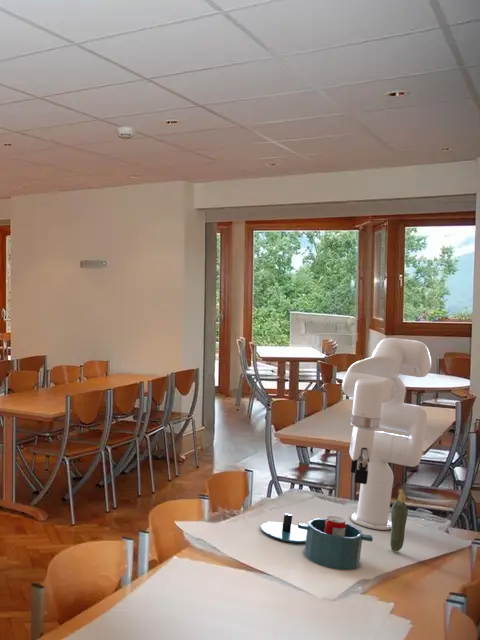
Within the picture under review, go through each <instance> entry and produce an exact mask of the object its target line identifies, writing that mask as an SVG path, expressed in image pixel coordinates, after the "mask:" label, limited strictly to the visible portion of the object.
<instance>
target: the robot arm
mask: <svg viewBox="0 0 480 640" xmlns="http://www.w3.org/2000/svg"><path fill="white" fill-rule="evenodd" d="M431 368H432V357H431V355H430V351H429V348H428V346H427V345H426V344H425V343H424V342H422V341H419V340H413V339H405V338H404V339H403V338H397V337H387V338H383V339H382V340H380V341H379V343H378V344H377V345H376V348H375V349H374V350H373V352H372V355H371V357H367V358H364V359H361V360H357V361H356V362H354V363H352V364H351V365H350V366H349V367H348V368H347V371H346V373H345V375H344V377H343V380H342V386H341V389H342V392H343V394H344V395H346V396H347V397H349V398H353V402H352V409H351V420H350V426H352V431H351V438H350V444H349V451H348V454H349V456H350V459H351V465H350V473H352V474H354V479H353V481H354V483H356V484H360V488H359V495H358V503H357V509H356V513H355V512H354V513H352V514H351V517H350V520H351V521H352V522H353V523H355V524H357V525H359V526H361V527H365V528H368V529H371V530H372V529H373V530H378V531H379V530H380V531H387V530H391V529H392V522H391V520H390V519H389V518H390V517H389V515H390V510H391V500H392V494H393V486H394V478H395V477H394V472H393V470H392V468H391V467H390V465H389V464H395V465H400V466H405V467H413V468H414V467H417V466H419V464H420V463H421V460H422V456H423V452H424V451H423V450H424V444H425V438H426V437H425V436H426V431H427V425H428V424H427V423H428V414H427V410H426V409H425V408H424V407H422V406H421V405H418V404H411V403H406V402H405V399H406V393H407V389H406V386H405V383H404V382H403V380H402V379H401V377H400V376H407V377H416V378H424V377H427V376H428V374H429V373H430V372H431ZM399 375H400V376H399ZM380 428H382V429H386V430H391V431H398V432H402V433H406V434H407V435H408V436H405V435H401V434H396V433H391V432H386V431H380V430H379V429H380Z"/></svg>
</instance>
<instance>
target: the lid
mask: <svg viewBox="0 0 480 640" xmlns="http://www.w3.org/2000/svg"><path fill="white" fill-rule="evenodd" d="M292 522H293V514H292V513H289V512H285V513H284V514H283V521H266V522H263V523H261V525H260V530H261V532H262V533H264V534H265V535H267V536H269V537H271V538H274V539H276V540H280V541H284V542H288V543H289V542H290V543H306V536H307V530H305V529H299V528H298V524H297V525H296V524H293V523H292Z"/></svg>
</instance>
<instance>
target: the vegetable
mask: <svg viewBox="0 0 480 640" xmlns="http://www.w3.org/2000/svg"><path fill="white" fill-rule="evenodd" d="M397 493H398V496H397V501H395V502H393V504H392V506H391V508H390V521H391V522H392V528H391V529H390V530H391V531H390V542H389V545H390V549H391V551H392V552H393V553H395V552H399V551H401V549H402V548H403V546H404V543H405V542H404V541H405V531H406V524H407V519H408V514H409V513H408V512H409V510H408V506H407V504H406V503H405V502H406V499H407V497H406V494H405V492H404V490H403V489H402V488H398V491H397Z"/></svg>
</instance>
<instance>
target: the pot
mask: <svg viewBox="0 0 480 640" xmlns="http://www.w3.org/2000/svg"><path fill="white" fill-rule="evenodd" d="M326 520H327V518H312V519H309V521H307V523H303V522H298V523H297V526H298V528H299V529H305V530H307V536H306V542H305V546H304V555H305V557H306V558H307V559H308V560H309V561H311V562H313V563H315V564H317V565H320V566H323V567H326V568H329V569H334V570H342V571H351V570H355V569H357V568H358V567H359V565H360V562H361V561H360V560H361V553H362V546H363V545H362V544H363V541H366V542H373V540H374V537H373V535H371V534H366V533H363V532H362V530H361V529H359V528H358V527H357V526H355V525H352V524H350V523H348V522H345V524H346V530H345V537H340V536H335V535H331V534H327V533H324V530H325V522H326Z"/></svg>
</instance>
